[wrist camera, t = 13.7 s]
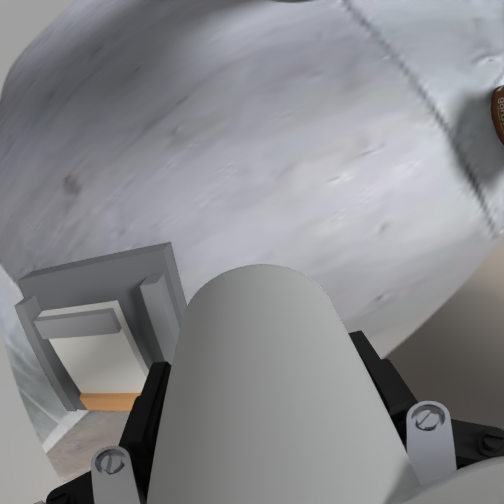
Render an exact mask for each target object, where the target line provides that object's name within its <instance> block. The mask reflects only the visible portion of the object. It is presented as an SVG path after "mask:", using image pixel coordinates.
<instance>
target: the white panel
mask: <svg viewBox="0 0 504 504" xmlns="http://www.w3.org/2000/svg"><path fill="white" fill-rule="evenodd" d="M34 324H35V326H36V328H37V330H38V332H39V333H40V335H41V337H42V339H49V341H50V343H51V344H52V346H53V348H54V350H55V352H56V353H57V355H58V357H59V358H60V360H61V362H62V363H63V365H64V367H65V368H66V370H67V372H68V373H69V375H70V376H71V378H72V380H73V381H74V383H75V384H76V386H77V387H78V389H79V390H80V392H81V395H80V397H79V399H80V400H81V401H82V403H83V404H84V406H85V407H86V408H87V410H101V411H131V409H132V406H133V404H134V401H135V399H136V397H137V396H140V395H141V392H142V389H143V387H144V384H145V381H146V378H147V376H148V373H149V370H148V368H147V366H146V364H145V362H144V360H143V358H142V355H141V353H140V351H139V349H138V347H137V345H136V343H135V340H134V338H133V336H132V334H131V331H130V329H129V327H128V324H127V322H126V320H125V317H124V315H123V313H122V310H121V308H120V305H119V303H118V300H116V301H110V302H103V303H96V304H89V305H82V306H74V307H67V308H60V309H52V310H45V311H42V312H41V313H40V315H39V316H38V317H37V318H36V319H35V320H34Z"/></svg>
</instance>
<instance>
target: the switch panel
mask: <svg viewBox="0 0 504 504" xmlns="http://www.w3.org/2000/svg"><path fill="white" fill-rule="evenodd" d="M18 282H19V285H20V287H21V290H22V293H23V296H24V299H23V300H21V301H20V302H19V303H17V304H16V305H15V309H16V311H17V314H18V317H19V319H20V321H21V324H22V326H23V328H24V331H25V333H26V335H27V338H28V340H29V342H30V344H31V346H32V348H33V350H34V352H35V355H36V357H37V359H38V361H39V363H40V364H41V366H42V368H43V370H44V372H45V374H46V376H47V378H48V379H49V381H50V383H51V385H52V387H53V388H54V390H55V392H56V393H57V395H58V397H59V398H60V400H61V402H62V403H63V405H64V407H65V408H66V410H67V411H77V409H79V410H87V408H86V407H85V406H84V404H83V403H82V401H81V400H80V399H79V397H80V395H81V392H80V390H79V389H78V387H77V386H76V384H75V383H74V381H73V380H72V378H71V376H70V375H69V373H68V372H67V370H66V368H65V367H64V365H63V363H62V362H61V360H60V358H59V357H58V355H57V353H56V352H55V350H54V348H53V346H52V344H51V343H50V341H49V339H42V337H41V335H40V333H39V332H38V330H37V328H36V326H35V324H34V320H35V319H36V318H37V317H38V316H39V315H40V313H41V312H42V311H45V310H52V309H60V308H67V307H74V306H82V305H89V304H96V303H103V302H110V301H116V300H118V303H119V305H120V308H121V310H122V313H123V315H124V317H125V320H126V322H127V324H128V327H129V329H130V331H131V334H132V336H133V338H134V340H135V343H136V345H137V347H138V349H139V351H140V353H141V355H142V358H143V360H144V362H145V364H146V366H147V368H148V370H150V368H151V365H152V363H153V362H163V361H167V362H169V364H170V365H172V362H173V357H174V353H175V348H176V344H177V340H178V335H179V331H180V327H181V323H182V319H183V315H184V312H185V310H186V308H187V304H186V300H185V297H184V293H183V289H182V286H181V282H180V278H179V274H178V270H177V266H176V262H175V258H174V254H173V250H172V246H171V242H168V243H163V244H158V245H153V246H148V247H143V248H138V249H133V250H129V251H124V252H119V253H114V254H109V255H105V256H100V257H95V258H91V259H86V260H81V261H77V262H72V263H68V264H63V265H59V266H54V267H50V268H45V269H41V270H37V271H32V272H31V273H29V274H27V275H26V276H24V277H22V278H21V279H19V280H18ZM95 411H101V410H95Z"/></svg>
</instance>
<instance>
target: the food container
mask: <svg viewBox="0 0 504 504" xmlns="http://www.w3.org/2000/svg"><path fill="white" fill-rule="evenodd" d="M491 115H492V120H493V124H494V127H495V130H496V133H497V135H498V137H499V139H500V140H501V142H502V143H503V145H504V85H503V86H500V87H498V88H497V89H496V90H495V91H494V92H493V95H492V98H491Z"/></svg>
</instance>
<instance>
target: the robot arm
mask: <svg viewBox="0 0 504 504" xmlns="http://www.w3.org/2000/svg"><path fill="white" fill-rule="evenodd" d="M348 334H349V336H350V338H351V340H352V342H353V344H354V346H355V348H356V350H357V352H358V354H359V356H360V357H361V359H362V361H363V363H364V365H365V367H366V369H367V371H368V373H369V375H370V377H371V379H372V381H373V383H374V385H375V387H376V389H377V391H378V393H379V395H380V397H381V399H382V402H383V404H384V406H385V408H386V410H387V412H388V414H389V416H390V418H391V420H392V422H393V424H394V427H395V429H396V431H397V433H398V435H399V437H400V439H401V442H402V444H403V446H404V448H405V450H406V453H407V455H408V457H409V460H410V462H411V464H412V466H413V469H414V471H415V473H416V476H417V478H418V480H419V483H420V485H421V486H419V487H417V488H414V489H412V490H409V491H407V492H404V493H402V494H400V495H399V496H398V497H397V498H396V499H394V500H393V501H392V502H390V503H389V504H504V431H503V430H502V429H500V428H497V427H492V426H485V425H479V424H474V423H468V422H463V421H458V420H453V419H450V415H449V412H448V410H447V409H446V408H445V406H443V405H442V404H440V403H438V402H434V401H424V402H420V403H418V402H417V400H416V399H415V397H414V396H413V394H412V393H411V391H410V390H409V388H408V387H407V385H406V384H405V383H404V381H403V379H402V378H401V376H400V375H399V373H398V372H397V370H396V369H395V368H394V366H393V365H392V363H391V362H390V361H389V360H388V359H386V358H385V359H382V360H381V359H380V357H379V356H378V354H377V353H376V351H375V350H374V348H373V347H372V345H371V344H370V342H369V341H368V340H367V338H366V337H365V335H364V334H363V332H362V331H356V332H352V333H348ZM171 366H172V365H170V364H169V362H167V361H163V362H153V363H152V365H151V368H150V370H149V373H148V376H147V378H146V381H145V384H144V387H143V389H142V392H141V395H140V396H137V397H136V399H135V401H134V404H133V406H132V409H131V412H130V414H129V417H128V420H127V423H126V426H125V428H124V431H123V434H122V437H121V440H120V443H119V445H118V446H107V447H104V448H102V449H100V450H99V451H97V452H96V454H95V455H94V456H93V458H92V460H91V471H89V472H87V473H85V474H83V475H81V476H79V477H78V478H76V479H74V480H72V481H70V482H68V483H66V484H64V485H62V486H60V487H58V488H56V489H54V490H53V491H51V492H50V494H49V495H48V496H47V499H46V502H45V503H44V502H43V501H39V502H37V503H35V504H147V497H148V490H149V483H150V477H151V471H152V465H153V459H154V453H155V447H156V441H157V436H158V431H159V425H160V420H161V415H162V410H163V405H164V400H165V395H166V390H167V385H168V380H169V376H170V371H171Z"/></svg>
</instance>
